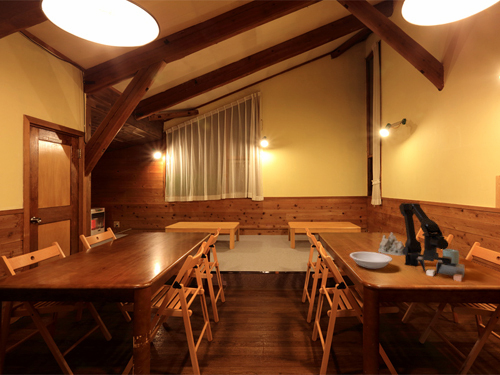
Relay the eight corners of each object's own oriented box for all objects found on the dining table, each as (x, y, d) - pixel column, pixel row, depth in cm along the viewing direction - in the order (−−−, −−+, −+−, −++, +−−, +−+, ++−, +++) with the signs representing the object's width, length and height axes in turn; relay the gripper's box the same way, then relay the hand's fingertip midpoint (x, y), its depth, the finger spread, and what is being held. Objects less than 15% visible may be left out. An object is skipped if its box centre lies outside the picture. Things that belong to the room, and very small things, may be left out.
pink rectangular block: (453, 280, 136) (453, 275, 136) (455, 278, 139) (455, 273, 139) (460, 282, 134) (460, 277, 134) (462, 279, 137) (462, 274, 137)
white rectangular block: (426, 275, 144) (426, 270, 144) (428, 273, 147) (428, 268, 147) (432, 276, 142) (432, 272, 142) (434, 274, 145) (434, 270, 145)
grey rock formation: (375, 250, 200) (376, 231, 199) (396, 250, 200) (398, 231, 199) (385, 256, 185) (386, 236, 184) (408, 257, 184) (410, 237, 183)
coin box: (436, 272, 147) (436, 264, 147) (438, 268, 154) (438, 260, 154) (463, 277, 139) (463, 268, 139) (464, 273, 146) (464, 264, 146)
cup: (440, 265, 160) (440, 249, 160) (447, 263, 164) (447, 248, 164) (454, 269, 153) (453, 252, 153) (461, 267, 156) (461, 251, 156)
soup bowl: (350, 271, 152) (350, 260, 152) (349, 260, 175) (349, 250, 175) (396, 275, 144) (395, 263, 144) (388, 263, 166) (388, 253, 166)
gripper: (408, 245, 145) (408, 272, 145) (449, 250, 132) (450, 280, 132) (412, 242, 153) (412, 268, 153) (451, 246, 140) (452, 275, 140)
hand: (430, 272), depth 144 cm, fingers open, 6 cm apart
